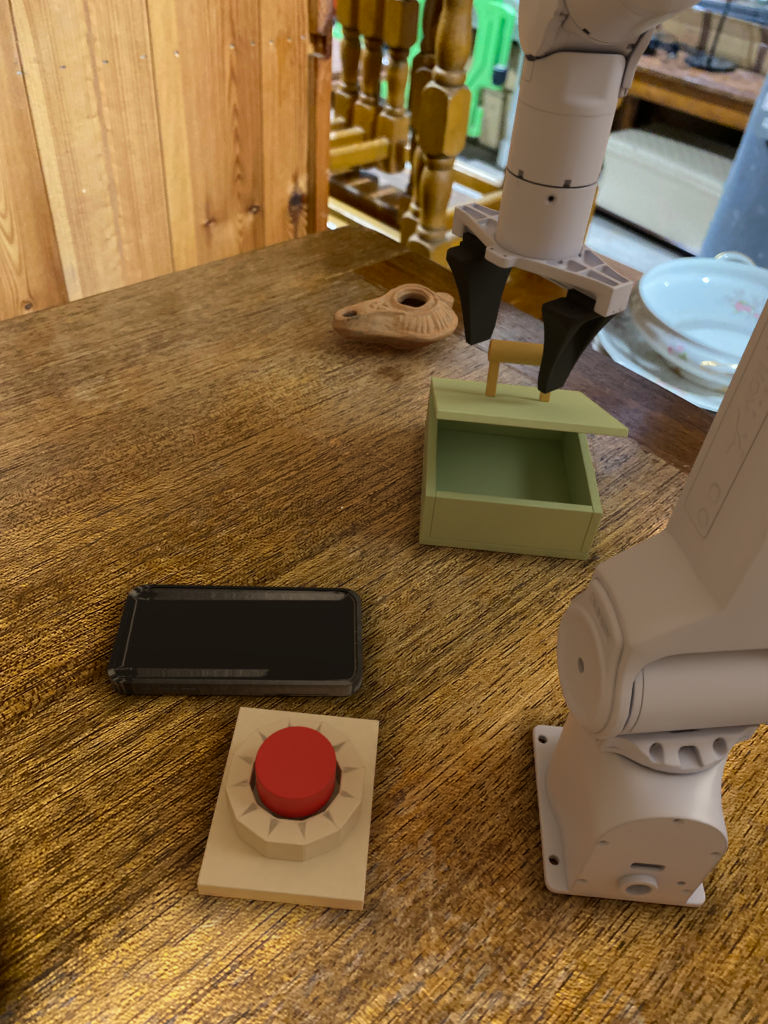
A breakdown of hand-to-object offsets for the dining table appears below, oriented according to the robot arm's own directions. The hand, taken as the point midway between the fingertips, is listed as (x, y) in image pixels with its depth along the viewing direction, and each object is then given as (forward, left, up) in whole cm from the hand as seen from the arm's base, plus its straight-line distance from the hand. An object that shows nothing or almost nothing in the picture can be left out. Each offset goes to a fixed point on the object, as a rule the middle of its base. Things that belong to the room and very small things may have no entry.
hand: (512, 363), depth 57 cm
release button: (-30, +11, -8) cm, 33 cm away
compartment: (-2, -1, -10) cm, 11 cm away
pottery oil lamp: (+20, +9, -10) cm, 24 cm away
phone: (-20, +16, -10) cm, 28 cm away
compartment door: (-2, -1, -2) cm, 3 cm away
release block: (-30, +11, -10) cm, 34 cm away
